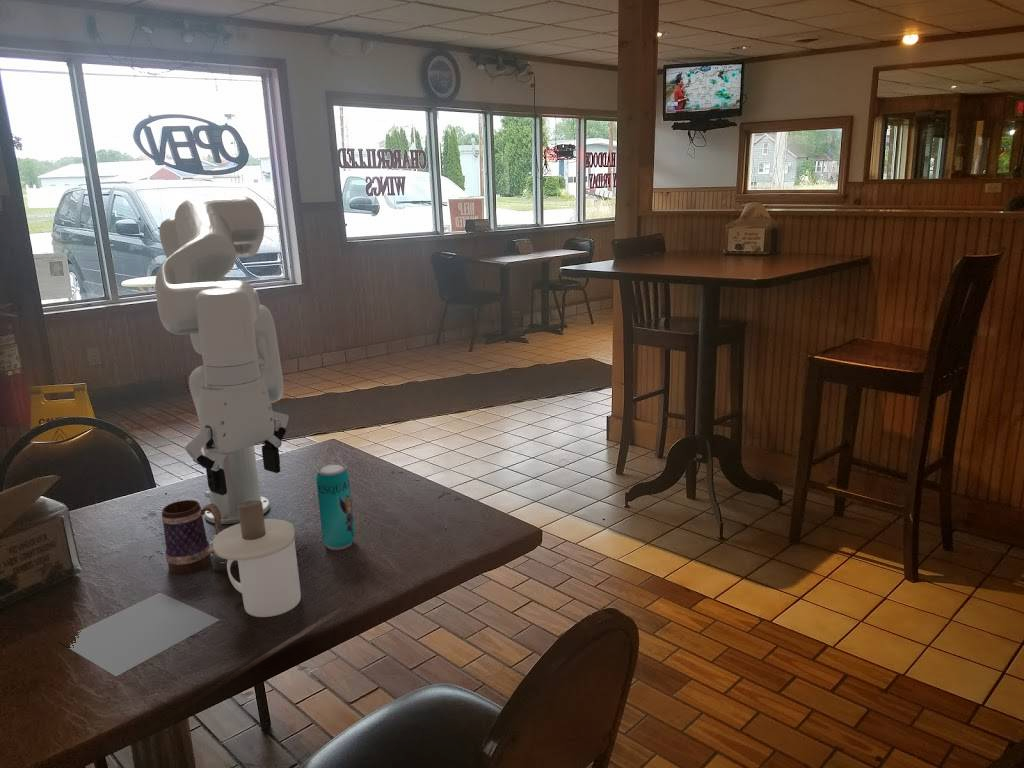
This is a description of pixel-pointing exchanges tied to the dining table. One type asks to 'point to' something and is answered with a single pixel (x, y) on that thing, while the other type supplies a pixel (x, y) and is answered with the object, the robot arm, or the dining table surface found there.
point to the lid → (253, 535)
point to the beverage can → (335, 506)
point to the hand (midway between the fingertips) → (246, 481)
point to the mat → (139, 633)
